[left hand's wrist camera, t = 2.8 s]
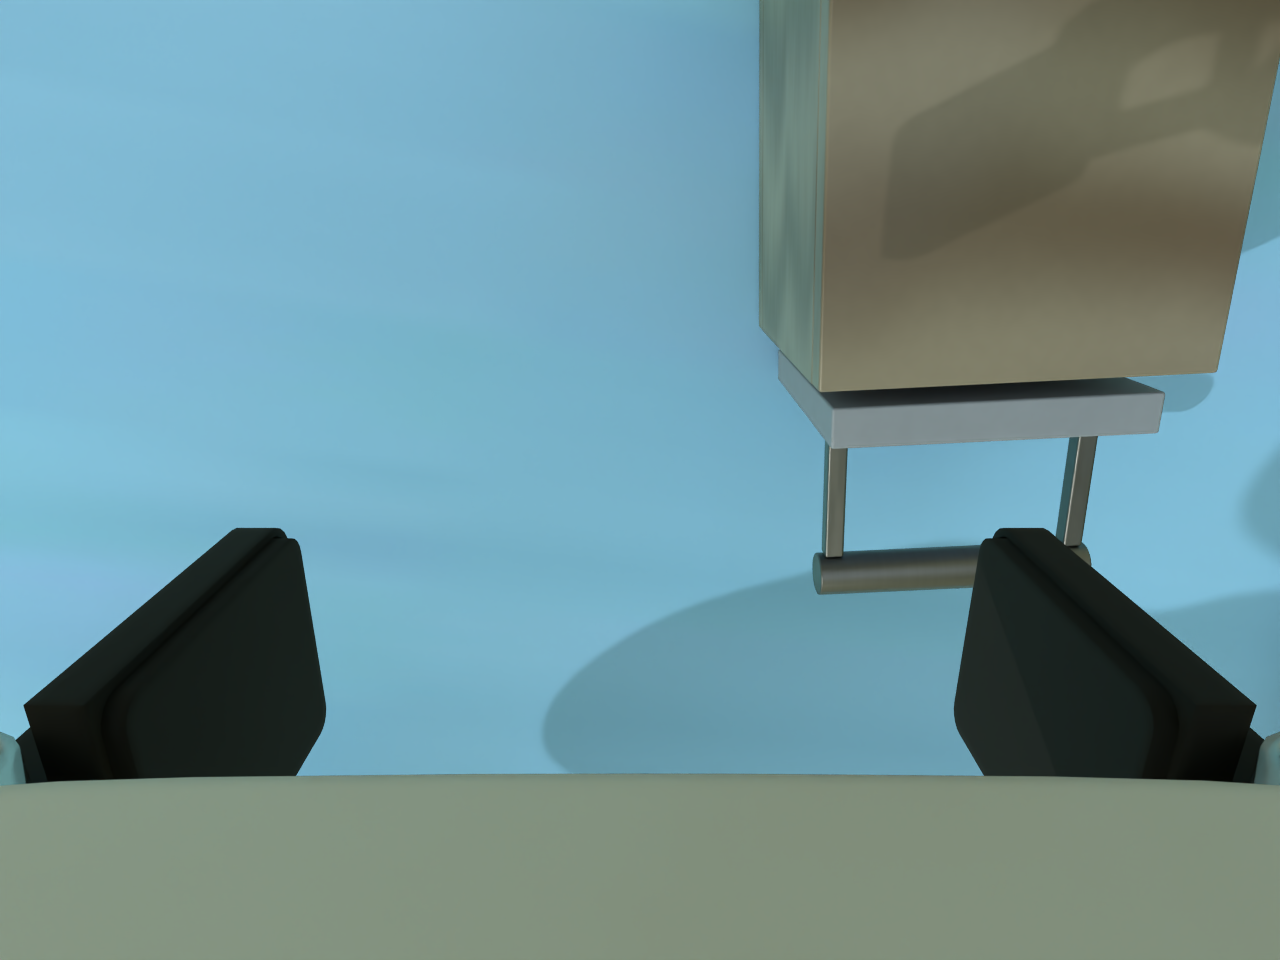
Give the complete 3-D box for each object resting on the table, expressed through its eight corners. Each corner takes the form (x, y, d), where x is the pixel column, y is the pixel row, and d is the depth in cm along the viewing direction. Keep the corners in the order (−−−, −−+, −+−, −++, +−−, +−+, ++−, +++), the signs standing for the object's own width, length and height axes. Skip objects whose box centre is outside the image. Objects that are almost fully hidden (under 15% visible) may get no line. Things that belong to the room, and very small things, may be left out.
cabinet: (1025, 313, 31) (1218, 373, 21) (758, 327, 31) (818, 393, 21) (1098, -322, 24) (1433, -696, 14) (759, -301, 24) (847, -656, 14)
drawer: (1000, 507, 33) (1126, 616, 24) (776, 517, 33) (825, 629, 24) (1081, -209, 24) (1312, -420, 16) (783, -192, 25) (859, -391, 16)
